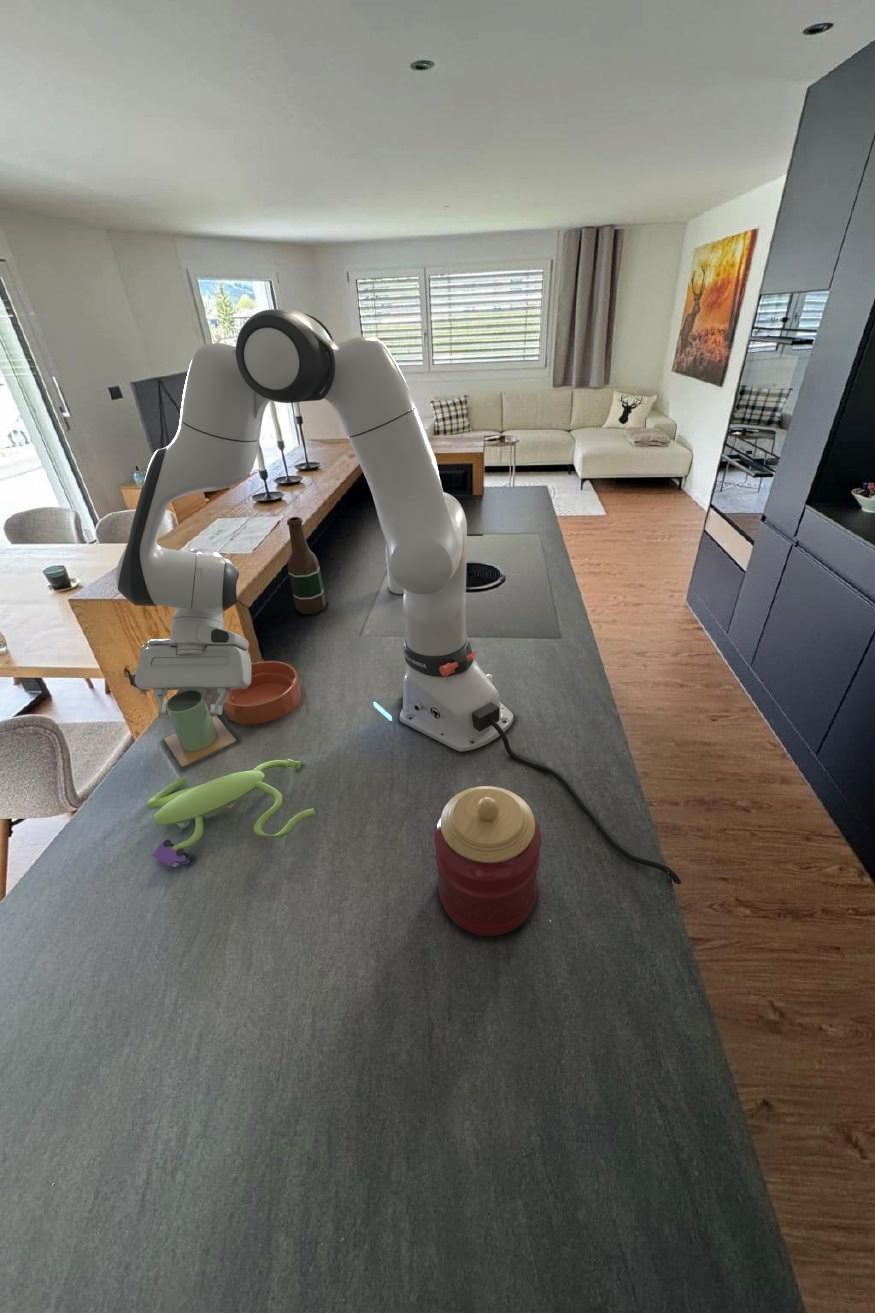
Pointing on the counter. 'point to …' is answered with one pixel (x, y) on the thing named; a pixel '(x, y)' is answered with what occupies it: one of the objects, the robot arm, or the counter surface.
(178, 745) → the coaster
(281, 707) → the bowl
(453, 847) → the kitchen canister
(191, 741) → the cup
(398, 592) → the milk bottle
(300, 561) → the beer bottle
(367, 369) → the robot arm
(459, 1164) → the counter surface
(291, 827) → the figurine
